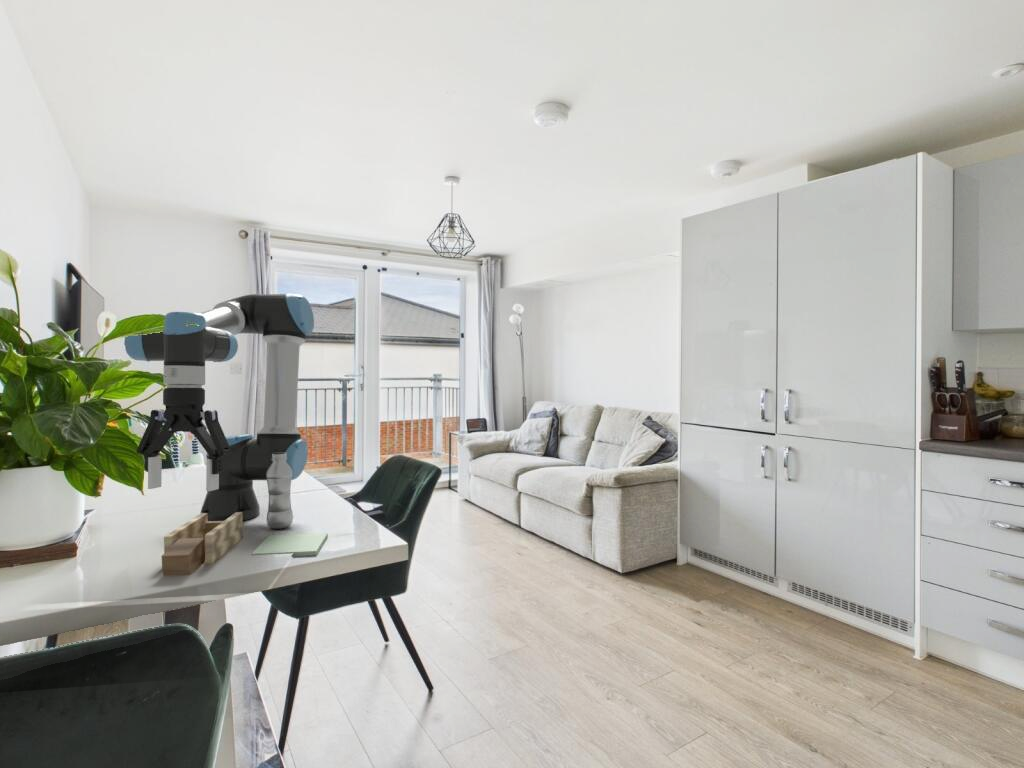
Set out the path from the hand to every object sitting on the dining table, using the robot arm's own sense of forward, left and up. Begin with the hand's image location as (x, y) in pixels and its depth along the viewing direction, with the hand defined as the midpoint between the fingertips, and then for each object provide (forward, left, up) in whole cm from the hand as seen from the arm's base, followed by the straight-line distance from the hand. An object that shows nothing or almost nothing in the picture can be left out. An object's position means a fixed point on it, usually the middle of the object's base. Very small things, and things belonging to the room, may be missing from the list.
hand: (183, 489), depth 115 cm
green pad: (-14, +18, -17) cm, 29 cm away
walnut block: (0, 0, -17) cm, 17 cm away
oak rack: (-11, 0, -17) cm, 20 cm away
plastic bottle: (-31, +11, -17) cm, 37 cm away
